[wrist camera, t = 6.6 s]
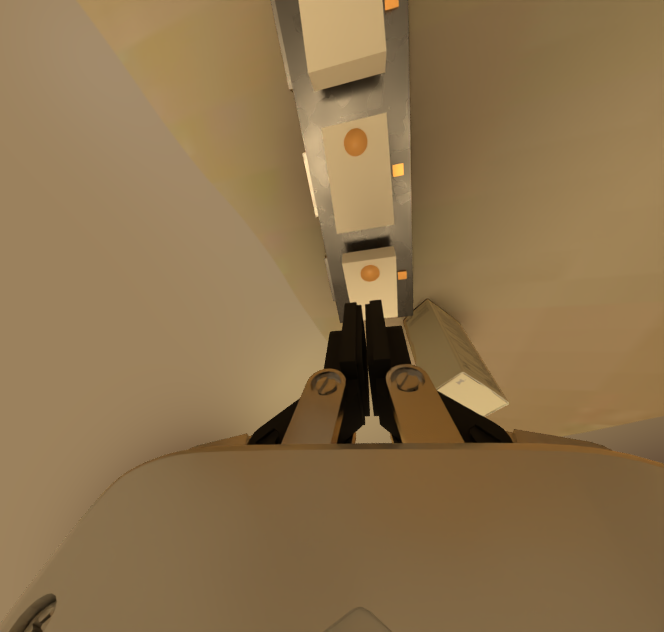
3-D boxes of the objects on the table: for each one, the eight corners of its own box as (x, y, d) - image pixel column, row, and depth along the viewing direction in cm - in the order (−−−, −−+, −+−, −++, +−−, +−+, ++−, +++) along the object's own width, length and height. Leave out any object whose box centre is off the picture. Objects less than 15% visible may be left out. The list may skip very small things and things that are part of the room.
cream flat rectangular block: (325, 135, 19) (320, 127, 17) (385, 121, 18) (386, 111, 16) (339, 232, 21) (336, 233, 20) (392, 224, 20) (394, 224, 19)
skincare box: (401, 320, 32) (420, 397, 22) (428, 296, 30) (462, 370, 20) (436, 344, 34) (468, 427, 24) (463, 323, 32) (511, 405, 22)
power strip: (270, -44, 17) (247, -95, 14) (396, -92, 16) (406, -163, 12) (339, 305, 32) (336, 324, 28) (407, 297, 30) (413, 317, 27)
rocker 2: (342, 253, 22) (341, 264, 21) (393, 246, 21) (396, 257, 20) (353, 310, 27) (353, 322, 26) (395, 305, 26) (397, 318, 25)
